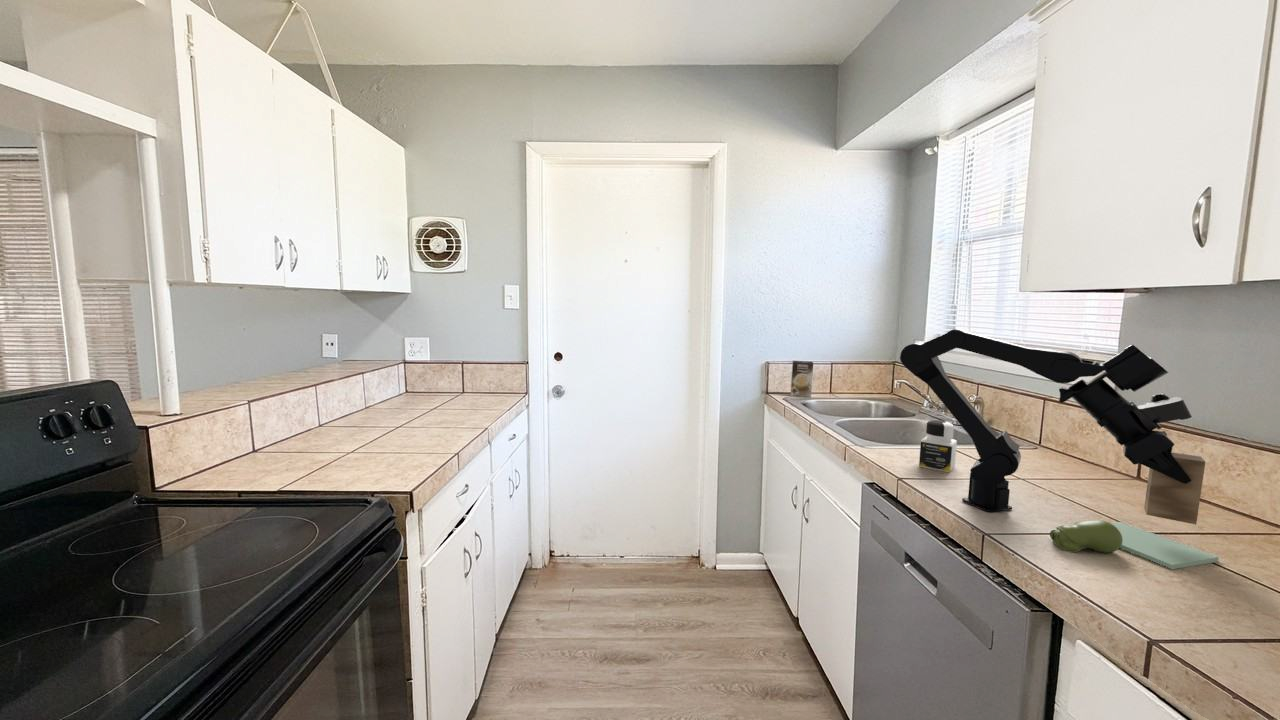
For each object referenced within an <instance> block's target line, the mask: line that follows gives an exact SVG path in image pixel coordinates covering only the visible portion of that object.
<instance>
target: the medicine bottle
mask: <svg viewBox="0 0 1280 720" xmlns="http://www.w3.org/2000/svg"><path fill="white" fill-rule="evenodd" d="M954 429H955V427H954V425H953V423H952V422H950V421H945V420H938V419H937V420H936V419H935V420H934V419H933V420H930V421H927V422H926V431H925V434H926V436H925V437H924V438H922V439H921V440H920V447H919V448H920V449H919V461H918V462H919V463H918V466H919V467H921V468H924V469H930V470H935V471H940V472H945V473H951V472H952V470H953V469H954V468H955V466H956V460H957V459H956V456H957V445H958V440H956V439H954Z"/></svg>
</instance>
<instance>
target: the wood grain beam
mask: <svg viewBox="0 0 1280 720" xmlns="http://www.w3.org/2000/svg"><path fill="white" fill-rule="evenodd" d="M1172 455H1173V457H1174V458H1175V459H1176V461H1177V462H1178V463H1179V464H1180V466H1181V467H1182V468H1183V470H1184V471H1185V472H1186V474H1187V475H1188V476H1189V477H1190V479H1191V482H1188V483H1186V484H1184V483H1182V482H1180V481H1177V480H1175V479H1173V478H1171V477H1169V476H1167V475H1164V474H1162V473H1160V472H1158V471H1155V470H1153V469H1151V468H1149V467H1148V468H1149V470H1148V477H1147V482H1146V483H1147V485H1146V492H1145V499H1144V507H1143V508H1144V512H1145V514H1146V515H1147V516H1151V517H1157V518H1161V519H1167V520H1171V521H1176V522H1181V523H1186V524H1191V525H1197V523H1198V514H1199V508H1200V502H1201V496H1202V495H1201V494H1202V489H1203V480H1204V475H1205V468H1206V467H1205V466H1206V461H1205V459H1204V458H1203V457H1202V456H1198V455H1192V454H1185V453H1177V452H1172Z"/></svg>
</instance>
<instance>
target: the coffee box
mask: <svg viewBox="0 0 1280 720" xmlns="http://www.w3.org/2000/svg"><path fill="white" fill-rule="evenodd" d="M791 365H792V368H791V381H790V383H791V384H790V397H795V398H796V397H797V398H810V399H811V398H812V391H813V374H814V362H813V361H808V360H806V361H805V360H792V363H791Z"/></svg>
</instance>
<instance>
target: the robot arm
mask: <svg viewBox="0 0 1280 720" xmlns="http://www.w3.org/2000/svg"><path fill="white" fill-rule="evenodd" d="M955 349H960V350H964V351H968V352H971V353H975V354H978V355H982V356H985V357H987V358H988V357H989V358H993V359H995V360H996V359H997V360H999V361H1003V362H1006V363H1010V364H1014V365H1017V366H1020V367H1023V368H1024V369H1027V370H1028V371H1030V372H1032V373H1034V374H1037V375H1039V376H1041V377H1044V378H1046V379H1048V380H1050V381H1053V382H1055V383H1058V384H1070V383H1072V382H1075V381H1077V380H1078V379H1080V378H1082V379H1080V380H1078V381H1077V382H1075V383H1074V384H1071V385H1070V386H1068V387H1063V386H1060V387H1059V388H1058V389H1059V390H1058V391H1059V399H1058V402H1059V403H1061V404H1063V403H1065V402H1066V401H1068V400H1070V399H1073V400H1074V401H1075V402H1076V403H1077V404H1078V405H1079V406H1080V407H1081V408H1082V409H1083V410H1085V412H1087V413H1088V414H1089V415H1090V416H1091V417H1092V418H1093V419H1094V420H1095V421H1096V423H1097V425H1098V426H1100V427H1101V428H1103V429H1105V431H1107V432H1108V433H1109V434H1110V435H1111V436H1112V437H1113V438H1114V439H1115V440H1116V442H1117V443H1118V444H1119V446H1123V450H1122V452H1123V455H1124V457H1125V458H1127V459H1128V460H1129V461H1130V462H1131V463H1132V465H1138V464H1139V465H1142V466H1143V467H1144V466H1145V467H1147V468H1151V469H1153V470H1155V471H1158V472H1160V473H1162V474H1164V475H1167V476H1169V477H1171V478H1173V479H1175V480H1177V481H1180V482H1182V483H1184V484H1186V483H1188V482H1191V479H1190V477H1189V476H1188V475H1187V474H1186V472H1185V471H1184V470H1183V468H1182V467H1181V466H1180V464H1179V463H1178V462H1177V461H1176V459H1175V458H1174V457H1173V455H1172V453H1173V447H1174V446H1175V443H1174V441H1173V440H1172V439H1170V438H1169V436H1168V435H1167V433H1166V431H1165V430H1164V431H1160V430H1161V429H1163V427H1162V426H1161V425H1160V424H1162V423H1167V422H1171V421H1176V420H1177V421H1178V420H1181V421H1183V420H1188V419H1190V418H1192V414H1191V412H1190V411H1189V408H1188V407H1187V404H1186V403H1185V401H1184V398H1182V397H1180V396H1173V397H1172V398H1171V397H1169V396H1168V395H1166V394H1165V393H1163V392H1161V393H1156V394H1152V395H1151V399H1150V402H1146V403H1144V404H1141V405H1137V404H1136V403H1134V402H1133V401H1130V400H1127V399H1126V398H1124V396H1122V394H1120V393H1119V392H1118V391H1117V390H1115V389H1114V387H1113V386H1112V385H1110V384H1109V383H1108V382H1107V381H1106V380H1105V378H1107V379H1108V380H1109V381H1110V382H1112V384H1114V386H1116V387H1117V388H1118V389H1119V390H1121V391H1122V392H1124V391H1129V390H1131V391H1133V392H1137V391H1138V390H1140V389H1142V388H1144V387H1146V386H1148V385H1150V384H1151V383H1153V382H1154V381H1156V380H1158V379H1160V378H1161V377H1164V376H1165V375H1167V374H1168V373H1169V371H1167V370H1166V369H1165V368H1164V367H1163V366H1162V365H1160V364H1159V363H1158V362H1156V360H1154V359H1153V358H1152V357H1151V356H1149V355H1148V356H1147V354H1145V353H1144V352H1143V351H1142V350H1140V349H1139V348H1138V346H1135V345H1134V344H1130V345H1128V346H1126V347H1125V348H1123V350H1122V351H1121V352H1119V353H1117V354H1115V355H1114V356H1113V357H1111V358H1109V359H1107V360H1106V361H1104V362H1100V361H1097V360H1089V359H1084V358H1083V359H1082V358H1081V357H1080V356H1079V355H1078V354H1076V353H1074V352H1072V351H1066V350H1060V349H1059V350H1058V349H1050V348H1049V349H1047V348H1038V347H1030V346H1029V347H1028V346H1024V345H1020V344H1016V343H1012V342H1009V341H1004V340H1001V339H997V338H993V337H989V336H985V335H981V334H979V333H978V334H977V333H973V332H970V331H967V330H965V329H963V328H955V329H950V330H949V331H947V333H945V334H941V335H939V336H938V337H935V338H932V339H930V340H928V341H926V342H916V343H911V344H908V345H906V346H904V347H903V349H902V350H901V352H900V356H899V360H900V363H901V365H903V366H904V367H905V368H906V370H908V371H909V372H910V373H911V374H913V375H914V376H916V378H918V379H919V380H921V381H922V382H924V383H925V384H926V385H927V386H928V387H929V388H930V389H931V390H932V391H933V393H934V394H935V395H936V397H937V398H938V399H939V401H941V402H942V404H943V405H944V406H945V408H947V410H948V411H949V413H950V414H951V416H953V417H954V418H955V420H956V421H957V423H959V425H960V426H961V428H963V430H964V431H965V432H966V434H968V436H969V438H970V439H971V440H972V442H973V445H974V446H975V450H976V452H977V454H978V456H979V458H978V459H976V461H975V462H974V464H973V466H971V468H970V473H969V484H968V486H969V487H968V495H967V496H968V497H963V498H961V501H962V502H964V503H967V504H969V505H971V506H974V507H977V508H978V509H981V510H982V511H985V512H988V513H991V512H1000V511H1009V510H1013V506H1011V505H1010V503H1009V501H1010V492H1011V491H1010V489H1009V482H1010V481H1009V480H1007V479H1006V477H1008V476H1011V475H1013V474H1015V473H1016V471H1017V470H1018V469H1019V466H1020V463H1021V459H1022V454H1021V452H1020V450H1019V449H1020V447H1021V446H1020V444H1018V443H1016V442H1015V441H1014V440H1013V439H1012V438H1011V435H1010V434H1009V433H1008V431H1007V430H1003V431H1002V432H998V431H997V430H995V429H993V428H992V427H991V426H990V425H989V424H988V423H987V422H986V420H985V419H984V418H983V417H982V415H981V414H980V413H979V412H978V411H977V409H976V408H975V407H974V406H973V405H972V404H971V402H970V401H969V400H968V399H967V397H965V395H964V394H963V392H961V390H960V389H959V388H958V387H957V386H956V384H955V383H954V382H953V380H951V378H950V377H949V376H948V375H947V373H946V371H945V370H944V369H945V368H944V367H943V364H942V362H941V360H940V358H939V357H940V356H942V355H944V354H947V353H948V352H950V351H951V352H952V351H953V350H955ZM1100 373H1101V374H1100ZM1099 374H1100V375H1099ZM1097 375H1098V376H1097ZM1084 377H1085V378H1087V377H1094V378H1092V379H1090V380H1088V381H1086V380H1085V379H1083V378H1084ZM1156 429H1157V430H1156Z"/></svg>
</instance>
